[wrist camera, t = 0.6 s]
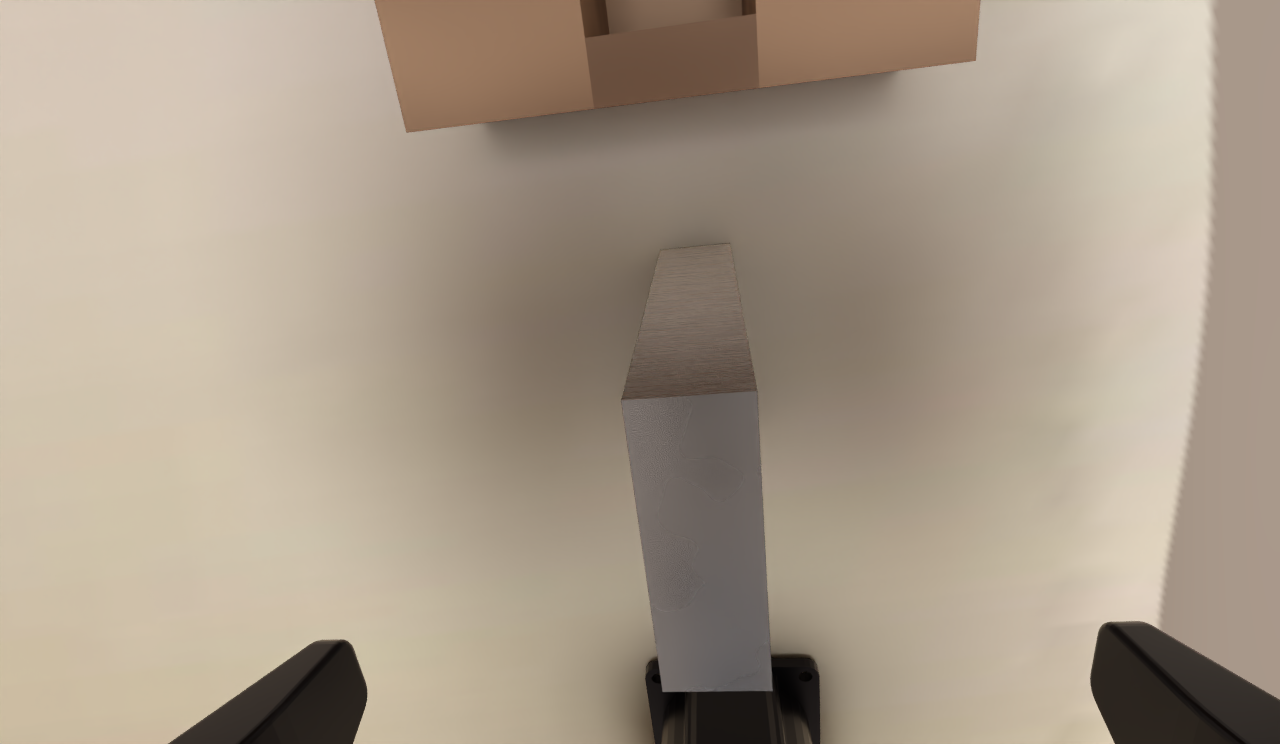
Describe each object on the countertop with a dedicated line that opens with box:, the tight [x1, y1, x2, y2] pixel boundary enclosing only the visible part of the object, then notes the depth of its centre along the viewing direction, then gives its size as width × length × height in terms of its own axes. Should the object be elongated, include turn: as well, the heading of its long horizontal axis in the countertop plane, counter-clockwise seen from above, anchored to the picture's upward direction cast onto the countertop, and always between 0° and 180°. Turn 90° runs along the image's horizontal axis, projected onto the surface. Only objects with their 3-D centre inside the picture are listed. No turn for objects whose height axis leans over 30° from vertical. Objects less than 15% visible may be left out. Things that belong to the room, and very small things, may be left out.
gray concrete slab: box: [621, 243, 773, 692], centre depth 15 cm, size 6×2×10 cm, turn 7°
